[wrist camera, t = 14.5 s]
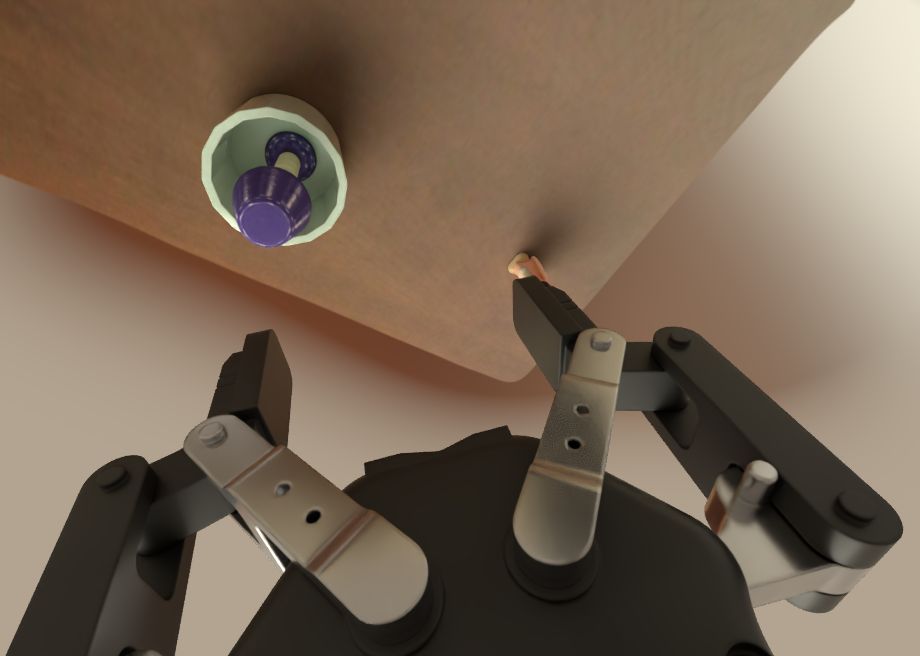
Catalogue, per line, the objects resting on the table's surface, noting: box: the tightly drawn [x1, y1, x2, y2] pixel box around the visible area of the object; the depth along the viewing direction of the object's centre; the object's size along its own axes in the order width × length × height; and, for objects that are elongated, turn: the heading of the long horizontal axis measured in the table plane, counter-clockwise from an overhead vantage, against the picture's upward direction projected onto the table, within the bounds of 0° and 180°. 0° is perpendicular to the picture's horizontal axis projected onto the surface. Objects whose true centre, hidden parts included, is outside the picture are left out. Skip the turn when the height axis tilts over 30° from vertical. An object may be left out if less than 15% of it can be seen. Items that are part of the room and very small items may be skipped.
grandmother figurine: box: [508, 253, 551, 287], centre depth 46 cm, size 8×4×13 cm, turn 49°
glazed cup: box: [202, 94, 348, 246], centre depth 35 cm, size 10×10×9 cm
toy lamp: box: [232, 131, 317, 247], centre depth 31 cm, size 5×5×17 cm
